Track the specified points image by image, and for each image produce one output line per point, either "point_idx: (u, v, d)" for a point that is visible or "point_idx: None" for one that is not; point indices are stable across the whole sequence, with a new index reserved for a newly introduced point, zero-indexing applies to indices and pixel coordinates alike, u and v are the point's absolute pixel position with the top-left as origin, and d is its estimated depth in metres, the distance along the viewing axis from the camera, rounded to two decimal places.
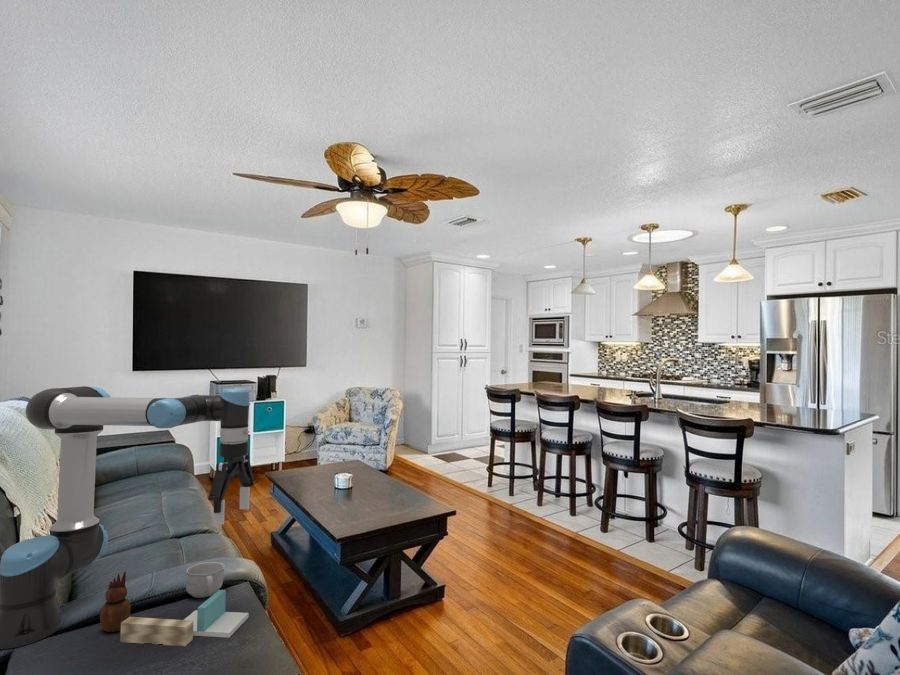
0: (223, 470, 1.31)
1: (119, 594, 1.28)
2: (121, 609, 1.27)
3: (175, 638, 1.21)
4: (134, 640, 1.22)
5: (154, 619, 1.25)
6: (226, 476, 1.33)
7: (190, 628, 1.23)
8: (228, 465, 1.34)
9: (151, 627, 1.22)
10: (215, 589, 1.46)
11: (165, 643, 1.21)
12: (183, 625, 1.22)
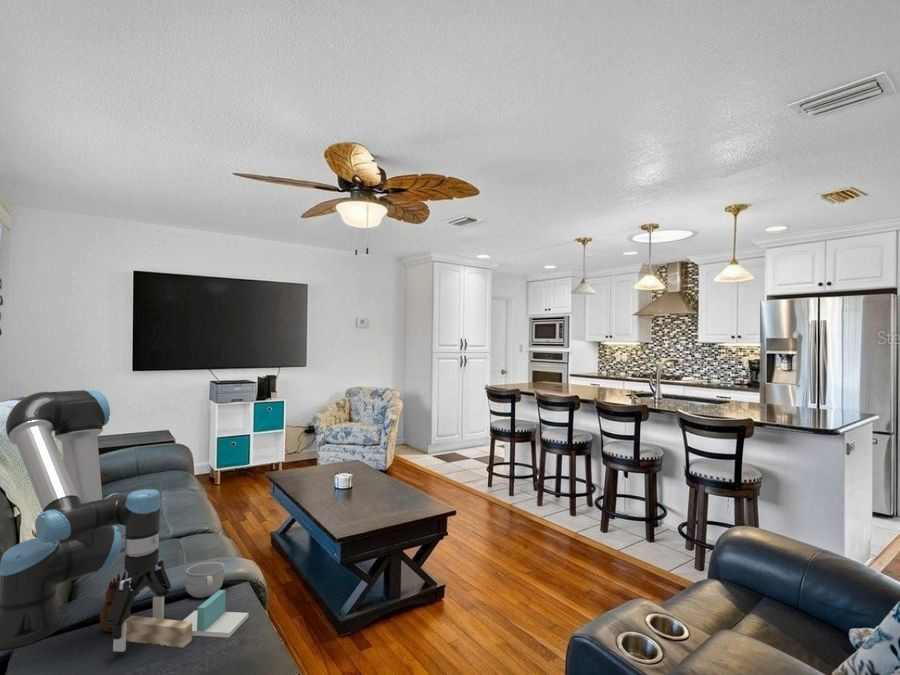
0: (124, 589, 1.17)
1: None
2: None
3: (174, 639, 1.21)
4: (135, 639, 1.23)
5: (154, 618, 1.25)
6: (130, 594, 1.20)
7: (188, 629, 1.22)
8: (132, 581, 1.20)
9: (150, 627, 1.22)
10: (215, 589, 1.46)
11: (164, 643, 1.21)
12: (181, 627, 1.21)
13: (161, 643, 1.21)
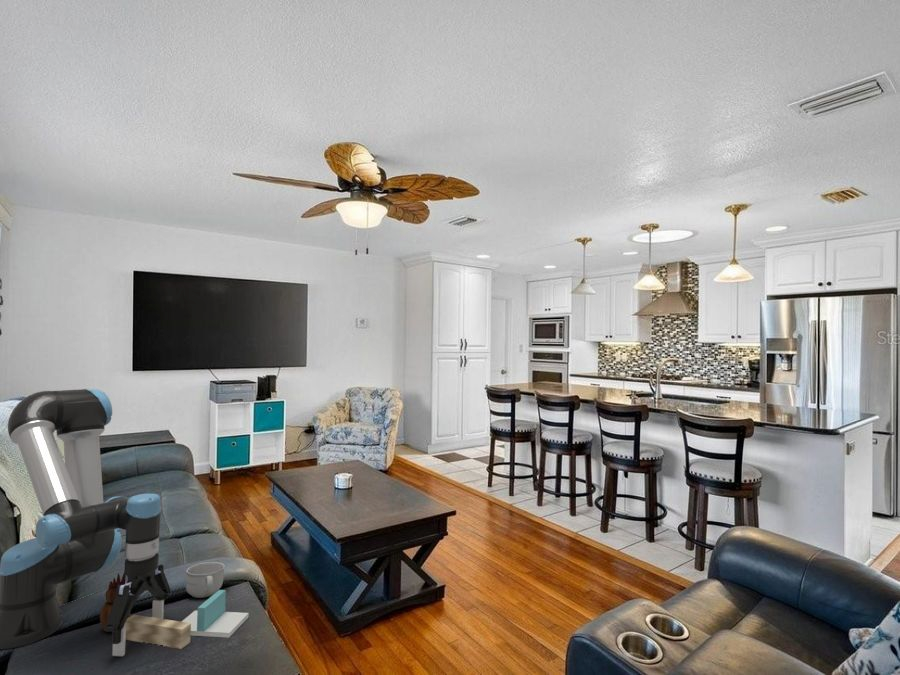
0: (124, 594, 1.17)
1: None
2: None
3: (172, 640, 1.20)
4: (135, 638, 1.23)
5: (155, 618, 1.25)
6: (129, 598, 1.20)
7: (187, 631, 1.22)
8: (132, 586, 1.20)
9: (150, 627, 1.22)
10: (215, 589, 1.46)
11: (163, 644, 1.21)
12: (179, 628, 1.21)
13: (160, 643, 1.21)
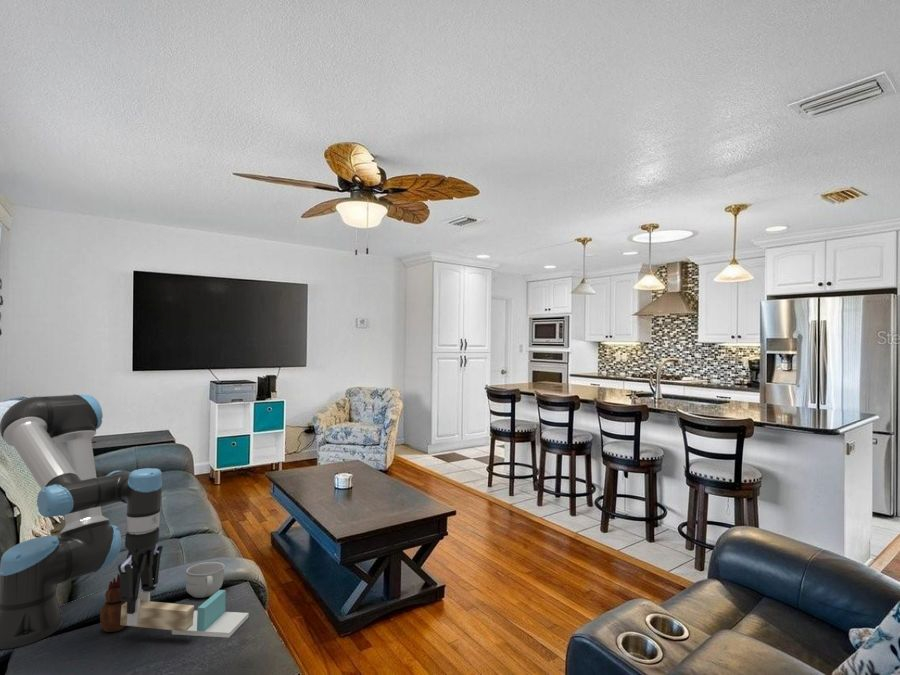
0: (127, 572, 1.19)
1: (119, 594, 1.28)
2: None
3: (176, 622, 1.22)
4: None
5: (154, 602, 1.25)
6: (135, 572, 1.22)
7: (191, 612, 1.23)
8: (133, 560, 1.21)
9: (151, 610, 1.22)
10: (215, 589, 1.46)
11: (165, 627, 1.22)
12: (183, 610, 1.22)
13: (162, 626, 1.22)
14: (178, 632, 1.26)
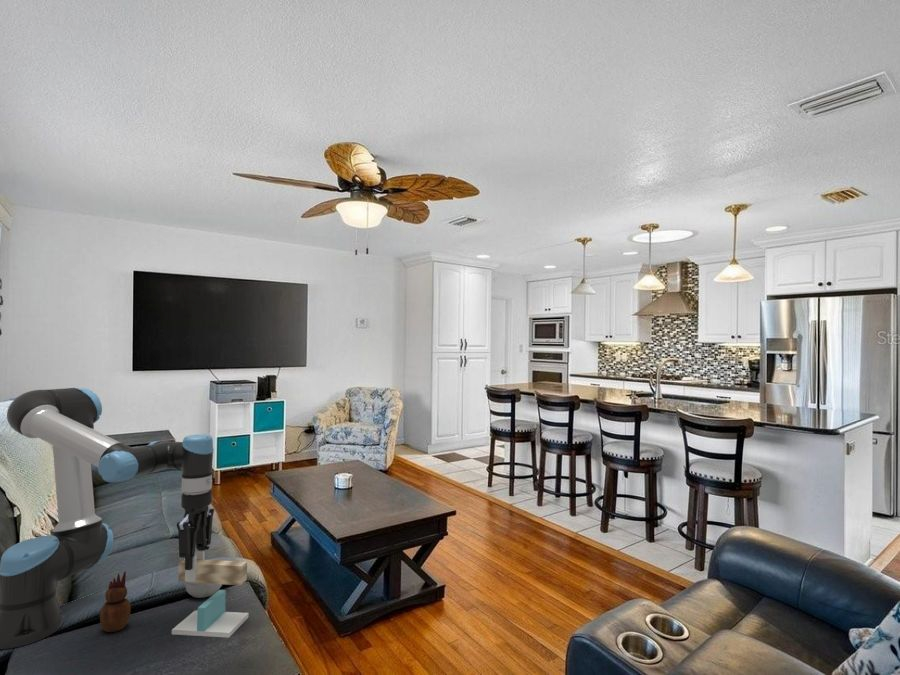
0: (185, 530, 1.26)
1: (119, 594, 1.28)
2: (121, 609, 1.27)
3: (231, 577, 1.28)
4: None
5: (209, 560, 1.32)
6: (191, 531, 1.29)
7: (244, 568, 1.30)
8: (190, 519, 1.28)
9: (208, 566, 1.29)
10: (215, 589, 1.46)
11: (221, 581, 1.29)
12: (238, 565, 1.29)
13: (218, 581, 1.29)
14: (178, 632, 1.26)
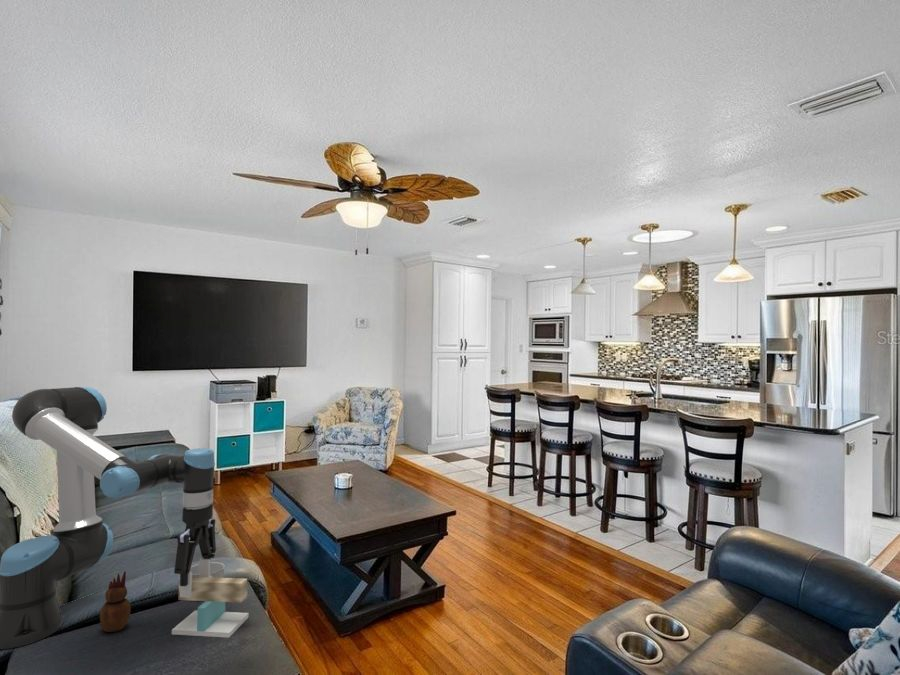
0: (185, 542, 1.25)
1: (119, 594, 1.28)
2: (121, 609, 1.27)
3: (232, 594, 1.29)
4: (192, 597, 1.30)
5: (209, 577, 1.32)
6: (190, 545, 1.29)
7: (245, 585, 1.30)
8: (190, 533, 1.28)
9: (208, 584, 1.29)
10: None
11: (222, 599, 1.29)
12: (238, 582, 1.29)
13: (219, 599, 1.29)
14: (178, 632, 1.26)
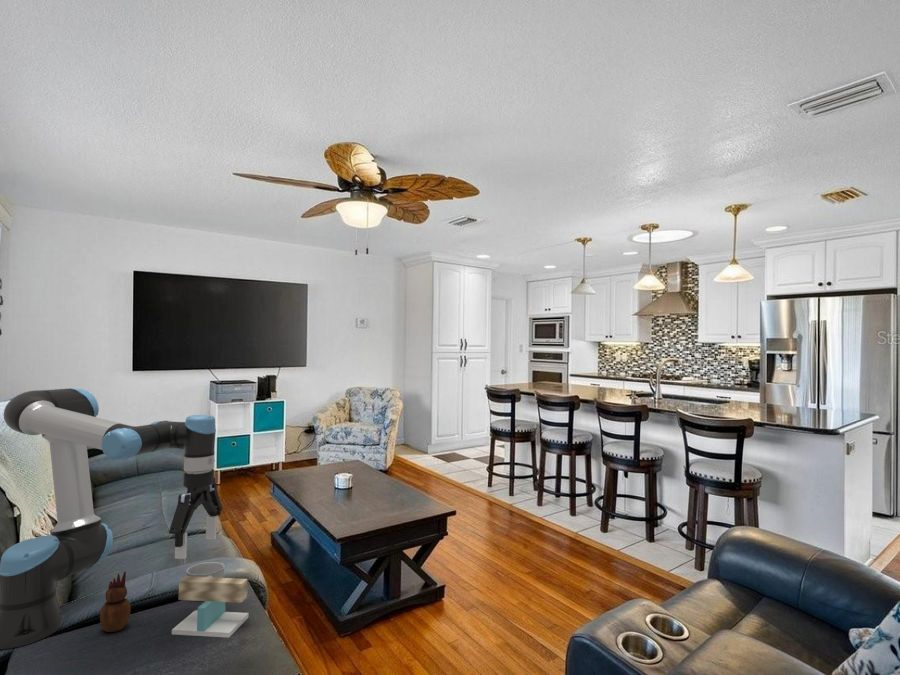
0: (185, 502, 1.26)
1: (119, 594, 1.28)
2: (121, 609, 1.27)
3: (232, 594, 1.29)
4: (192, 597, 1.30)
5: (209, 577, 1.32)
6: (189, 507, 1.28)
7: (245, 585, 1.30)
8: (191, 496, 1.29)
9: (208, 584, 1.29)
10: None
11: (222, 599, 1.29)
12: (238, 583, 1.29)
13: (219, 599, 1.29)
14: (178, 632, 1.26)
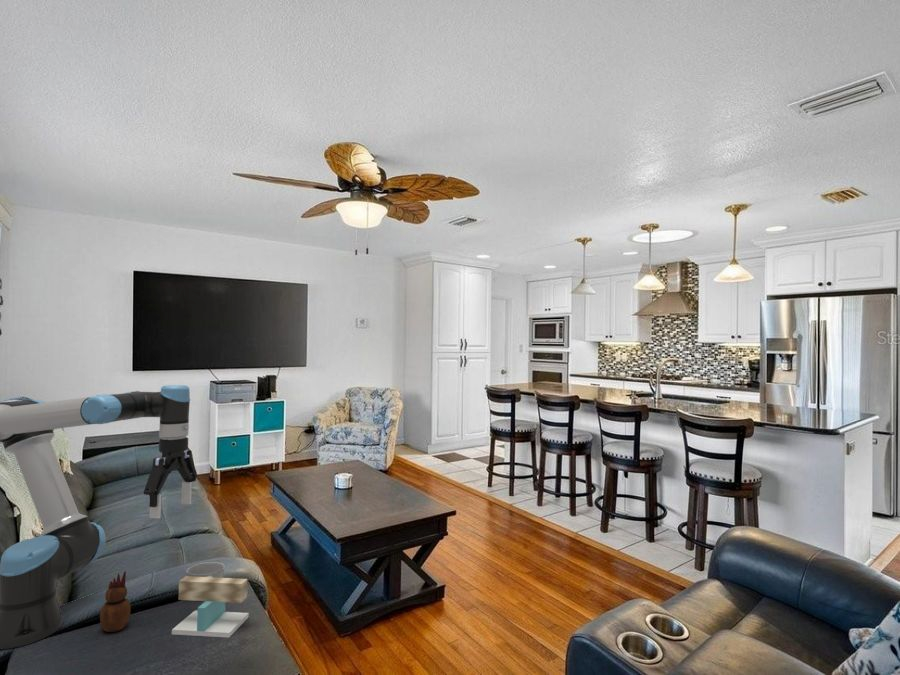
0: (160, 465, 1.33)
1: (119, 594, 1.28)
2: (121, 609, 1.27)
3: (232, 594, 1.29)
4: (192, 597, 1.30)
5: (209, 577, 1.32)
6: (164, 471, 1.36)
7: (245, 585, 1.30)
8: (166, 460, 1.36)
9: (208, 584, 1.29)
10: None
11: (222, 599, 1.29)
12: (238, 583, 1.29)
13: (219, 599, 1.29)
14: (178, 632, 1.26)
